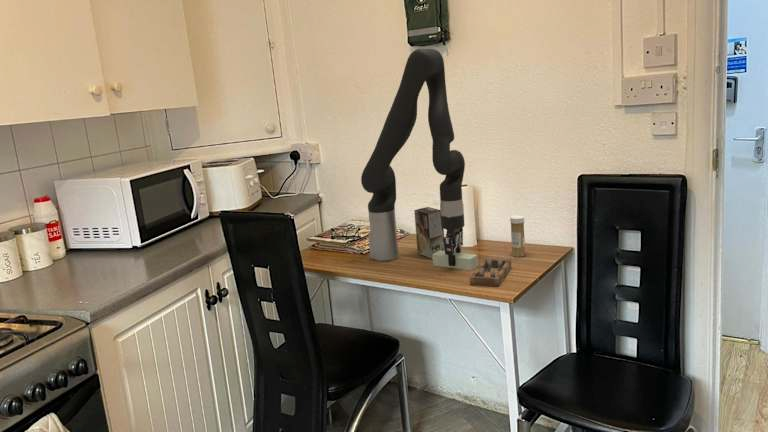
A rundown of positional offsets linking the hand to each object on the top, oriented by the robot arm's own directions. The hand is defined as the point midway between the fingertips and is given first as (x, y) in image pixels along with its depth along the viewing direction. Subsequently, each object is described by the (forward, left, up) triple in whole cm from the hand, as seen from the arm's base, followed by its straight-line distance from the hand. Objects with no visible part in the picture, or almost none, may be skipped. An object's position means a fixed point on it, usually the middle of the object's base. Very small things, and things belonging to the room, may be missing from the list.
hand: (455, 262), depth 203 cm
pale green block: (0, 0, -1) cm, 1 cm away
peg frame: (+14, -8, -1) cm, 16 cm away
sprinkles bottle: (+18, +14, -1) cm, 23 cm away
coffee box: (-12, +11, -1) cm, 16 cm away
